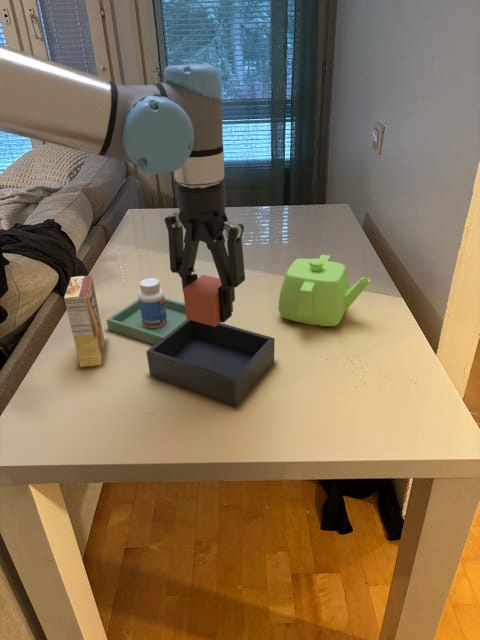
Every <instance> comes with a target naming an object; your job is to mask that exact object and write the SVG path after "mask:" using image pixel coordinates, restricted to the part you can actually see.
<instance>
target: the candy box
mask: <svg viewBox="0 0 480 640" xmlns="http://www.w3.org/2000/svg"><path fill="white" fill-rule="evenodd" d="M68 282H69V283H68V285H67V288H66V291H65V293H64V296H63V301H64V304H65V309H66V312H67V316H68V320H69V325H70V328H71V333H72V337H73V341H74V346H75V350H76V354H77V358H78V362H79V366H80V368H87V367H96V366H101V365H102V359H103V354H104V348H105V341H106V340H105V336H104V331H103V327H102V320H101V315H100V311H99V306H98V300H97V295H96V289H95V286H94V285H95V284H94V280H93V276H92V275H78V276H71V277H70V280H69V281H68Z"/></svg>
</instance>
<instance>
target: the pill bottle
mask: <svg viewBox="0 0 480 640" xmlns="http://www.w3.org/2000/svg"><path fill="white" fill-rule="evenodd" d="M139 286H140V291H139V293H138V295H137V296H138V297H137V298H138V299H139V303H140V310H141V317H142V323H143V325H144V326H146V327H148V328H158V327H161V326H163V325H164V324H165V323H166V322H167V314H166V306H165V298H166V297H165V291H163V289H162V288H161V284H160V280H159V279H157V278H151V277H149V278H145V279H143V280H141V281H140V282H139Z"/></svg>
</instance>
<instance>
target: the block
mask: <svg viewBox="0 0 480 640" xmlns="http://www.w3.org/2000/svg"><path fill="white" fill-rule="evenodd" d="M221 285H222V284H221V281H220V278H219V277H215V276H212V275H206V274H202V275H200V276H199V277H198V278H197V279H196V280H195V281H193V282H192V283H190V284H189V285H187V286H186V287H185V288H183V287H182V292H183V299H184V303H185V310H186V319H189V320H192V321H196V322H199V323H203V324H206V325H210V326H213V327H216V326H217V325H218V324H219V323H221V322H220V311H219V294H218V287H220V286H221ZM233 303H234V302H233ZM233 303H232V304H231V308H232V313H233V312H234V304H233Z"/></svg>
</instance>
